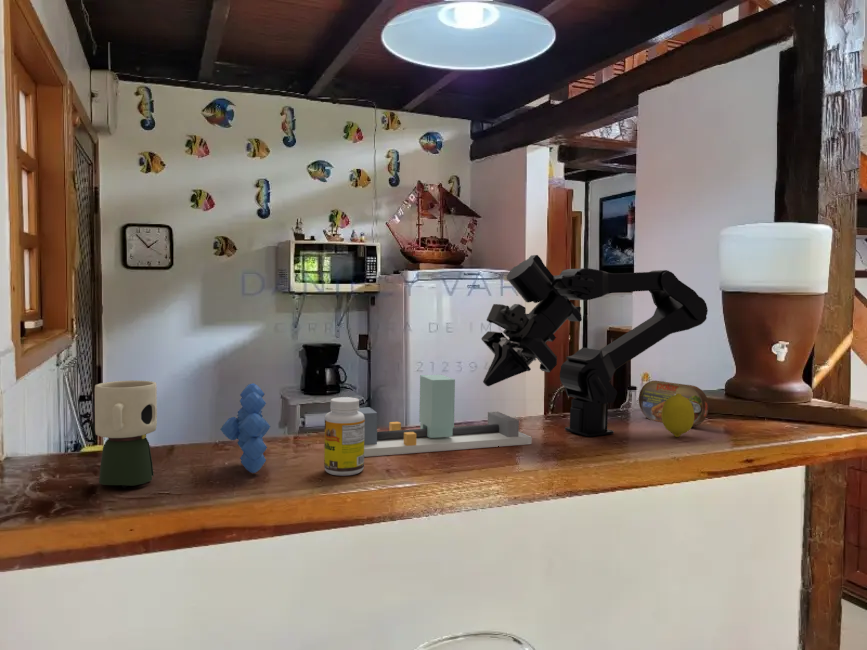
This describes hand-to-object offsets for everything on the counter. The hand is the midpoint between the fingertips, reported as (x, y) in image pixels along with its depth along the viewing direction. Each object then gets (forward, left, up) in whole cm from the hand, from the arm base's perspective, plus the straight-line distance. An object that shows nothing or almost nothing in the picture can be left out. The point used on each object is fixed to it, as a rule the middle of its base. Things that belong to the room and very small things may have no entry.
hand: (485, 384), depth 107 cm
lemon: (-33, +14, -10) cm, 37 cm away
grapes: (+41, 0, -10) cm, 42 cm away
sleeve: (+9, -2, -8) cm, 12 cm away
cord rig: (+8, -1, -10) cm, 13 cm away
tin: (-43, +5, -10) cm, 45 cm away
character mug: (+56, 0, -10) cm, 57 cm away
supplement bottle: (+29, +7, -10) cm, 31 cm away
